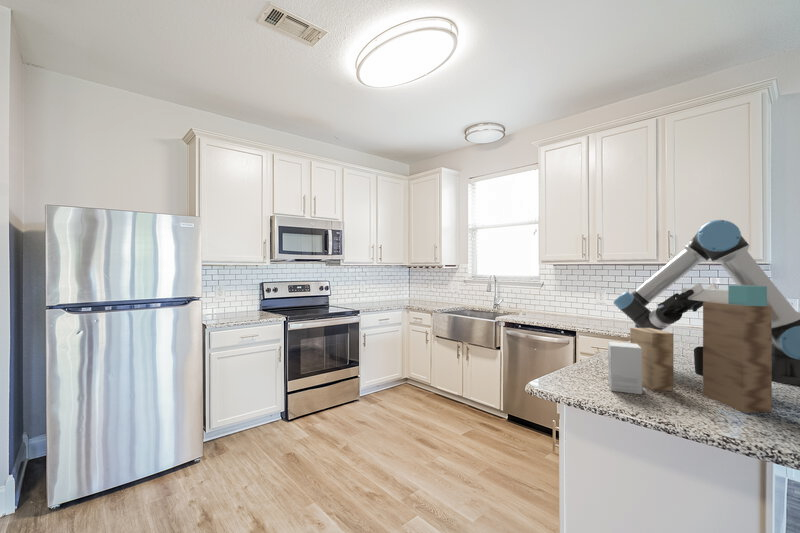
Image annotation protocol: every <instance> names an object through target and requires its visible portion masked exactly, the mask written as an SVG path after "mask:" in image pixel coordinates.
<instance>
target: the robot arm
mask: <svg viewBox="0 0 800 533" xmlns="http://www.w3.org/2000/svg"><path fill="white" fill-rule="evenodd" d="M749 247H750V245H749V243H748V241H747V240H746V239H745V238H744V237H743V235H742V233H741V231H740V228H739V226H737V225H736V224H735V223H733V222H731V221H729V220H724V219H716V220H715V219H714V220H711V221H709V222H706V223H705V224H703V225H701V226H700V228H698V230H697V232H696V234H695V235H694V236H693V237H692V239H690V241H689V242H687V243H686V244H685V245H684V249H683V250H681V251H680V252H679V253H678V254H677V255H676V256H675V257H673V258H672V259H671V260H670V261H669V262H667V263H666V264H665V265H664V266H663V267H662V268H660V269H659V270H658V271H657V272H655V273H654V274H653V275H651V277H649V278H648V279H646V280H645V282H644V283H642V284H641V285H640V286H639V287H637V288H635V290H634V291H632V292H631V293H630V292H628V291H625V292H623V293H622V294H620V295H619V296H618V297H617V298H615V300H613V304H614V305H615V306H616V307H617V309H618V310H620V311H621V312H622V313H624V314H625V315H626V317H627V318H629V319H630V320H631V321H632V322H634V328H652V329H656V330H661V331H664V330H666V329H667V328H668V327H670V325H672V324H674V323H676V322H678V321H679V320H681V319H682V317H683V314H685V313H687V312H688V311H692V312H697V311H699V310H698V309H701V308H703V302H706V301H696V300H688V299H692V298H693V297H695V296H696V295H698V294H699V293H701V292H702V291H704V289H719V288H718V286H717V284H716V283H714V282H713V283H711V284H710V285H709V286H707V287H705V288H704V287H703V284H702V283H701V282H698V283H697V284H695V285H694V286H692V287H690V288H691V289H689V290H688V291H686V292H685V293H682V292H681V293H680V294H679V293H678V292H677V293H674V294H672V295H671V296H670V297H668V298H667V299H665V300H664V301H662V302H660V303H658V304H657V307H655V309H653V310H652V311H651V310H650V309H649V308H648V307H646V306H648V305H649V304H650V303H651V302H652V301H654V300H655V299H656V298H657V297H658V296H660V295H661V294H663V293H664V292H665V291H667V289H669V288H670V287H671V286H672V285H673V284H675V283H676V282H677V281H679V280H680V279H681V278H683V277H684V276H685V275H686V274H688V273H689V272H691V271H692V270H693V269H694V268H695V267H697V266H698V265H699V264H700V263H702V262H707V261H709V260H711V261H712V262H713V263H716V264H720V265H721V266H722V268H723V269H724V270H725V272H726V273H727V274H728V275H729V277H730V278H731V279H732V280H733V282H734V283H735V284H736V285H744V286H767V306H771V334H772V381H773V382H777V383H782V384H787V385H792V386H794V385H795V386H800V311H797V310H796V309H795V308H794V307H793V306H792V304H791V303H790V302H789V300H787V298H786V297H785V296H784V295H783V293H782V292H781V291H780V290H779V289H778V287H777V286H776V284H774V282H773V281H772V280H771V279H770V277H769V276H768V275H767V273H766V272H765V271H764V270H763V269H762V267H761V266H760V264H759V263H757V261H756V260H755V258H753V256H752V255H751V254H750V253H749ZM703 288H704V289H703ZM687 298H688V299H687Z"/></svg>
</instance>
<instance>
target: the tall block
mask: <svg viewBox="0 0 800 533" xmlns="http://www.w3.org/2000/svg"><path fill="white" fill-rule="evenodd" d="M702 347H703V375H702V396H703V397H707V398H709V399H711V400H713V401H716V402H719V403H721V404H723V405H725V406H728V407H730V408H732V409H735V410H737V411H739V412H742V413H772V412H773V411H772V409H773V403H772V401H773V400H772V399H773V398H772V396H773V395H772V394H773V392H772V391H773V390H772V383H773V382H772V334H771V306H743V305H734V304H726V303H716V302H703V306H702Z"/></svg>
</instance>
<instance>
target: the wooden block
mask: <svg viewBox="0 0 800 533" xmlns="http://www.w3.org/2000/svg"><path fill="white" fill-rule="evenodd" d="M629 335H630V337H629V338H630V342H629V343H633V344H638V345H639V346H640V347H641V348H642V387H644V388H646V389H648V390H651V391H664V392H665V391H668V392H669V391H670V392H672V391H674V333H673V332H669V331H666V330H665V331H664V330H656V329H652V328H635V327H630V334H629Z"/></svg>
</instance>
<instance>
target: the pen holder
mask: <svg viewBox="0 0 800 533" xmlns="http://www.w3.org/2000/svg"><path fill="white" fill-rule="evenodd" d="M693 359H694V360H693V362H694V363H693V364H694V372H695V373H696V374H697V375H699V376H703V345H702V346H701V345H700V346H696V347H695V348H693Z"/></svg>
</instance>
